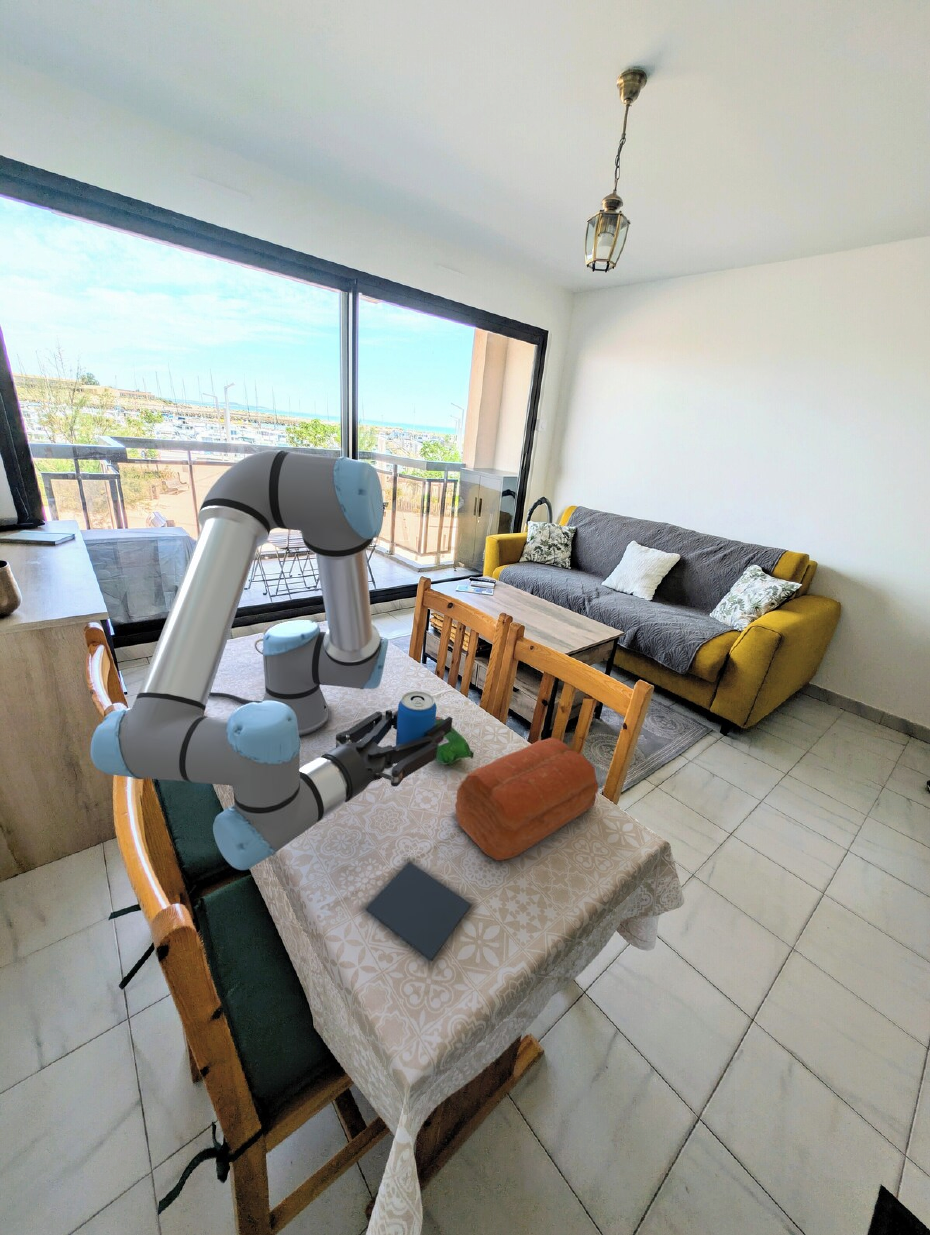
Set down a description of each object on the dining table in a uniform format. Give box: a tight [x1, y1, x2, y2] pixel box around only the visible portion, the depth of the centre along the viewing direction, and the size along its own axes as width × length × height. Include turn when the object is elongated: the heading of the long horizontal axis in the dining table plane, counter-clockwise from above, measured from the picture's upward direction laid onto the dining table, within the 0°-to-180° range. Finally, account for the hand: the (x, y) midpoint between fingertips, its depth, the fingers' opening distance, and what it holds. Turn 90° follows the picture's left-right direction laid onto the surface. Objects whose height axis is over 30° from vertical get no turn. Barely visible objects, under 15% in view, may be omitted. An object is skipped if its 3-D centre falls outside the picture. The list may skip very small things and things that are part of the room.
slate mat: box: [365, 861, 472, 962], centre depth 70 cm, size 12×10×1 cm
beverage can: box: [395, 690, 437, 746], centre depth 81 cm, size 6×6×12 cm
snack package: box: [435, 716, 475, 766], centre depth 103 cm, size 7×16×5 cm, turn 35°
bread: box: [454, 737, 599, 862], centre depth 88 cm, size 16×27×11 cm, turn 128°
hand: (434, 715), depth 85 cm, fingers closed on beverage can, 6 cm apart
